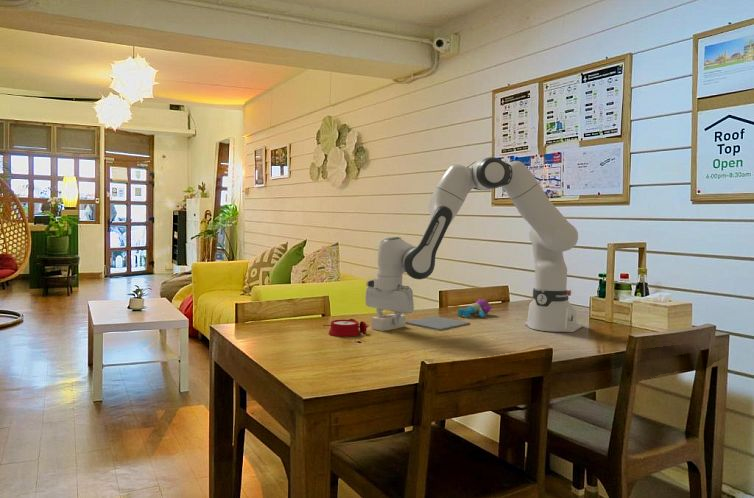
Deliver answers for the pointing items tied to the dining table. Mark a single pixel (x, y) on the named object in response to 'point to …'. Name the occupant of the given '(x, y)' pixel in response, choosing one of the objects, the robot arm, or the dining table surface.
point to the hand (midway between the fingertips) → (388, 322)
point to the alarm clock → (347, 328)
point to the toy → (476, 309)
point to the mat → (437, 323)
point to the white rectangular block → (387, 322)
